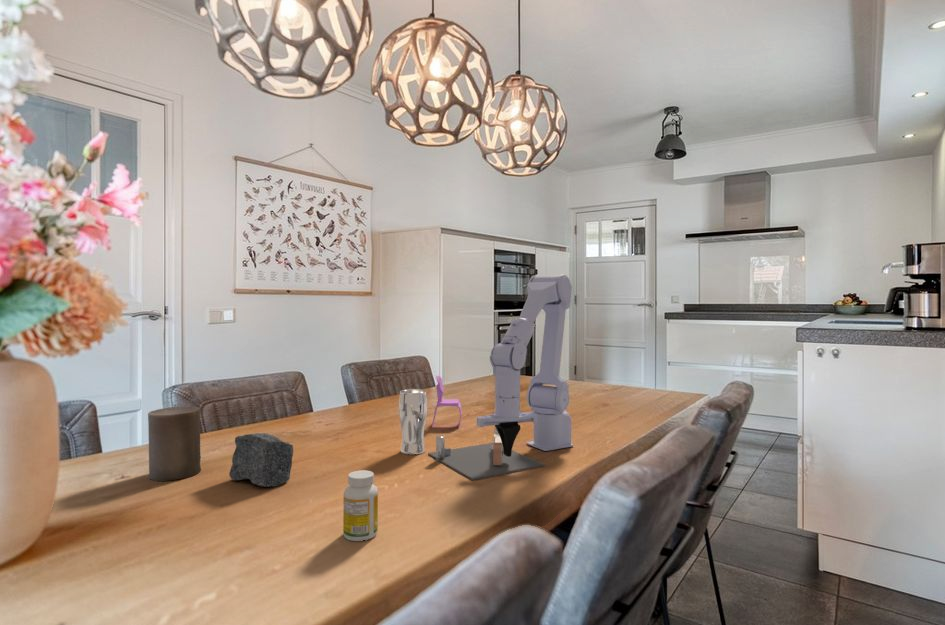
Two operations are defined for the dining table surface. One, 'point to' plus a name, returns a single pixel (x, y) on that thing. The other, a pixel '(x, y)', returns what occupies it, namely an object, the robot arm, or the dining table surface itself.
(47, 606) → the dining table surface
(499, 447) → the gate
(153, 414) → the pillar candle
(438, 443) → the post
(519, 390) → the robot arm
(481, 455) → the mat
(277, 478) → the stone
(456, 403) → the toy chair
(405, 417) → the beer glass
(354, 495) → the supplement bottle
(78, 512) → the dining table surface
